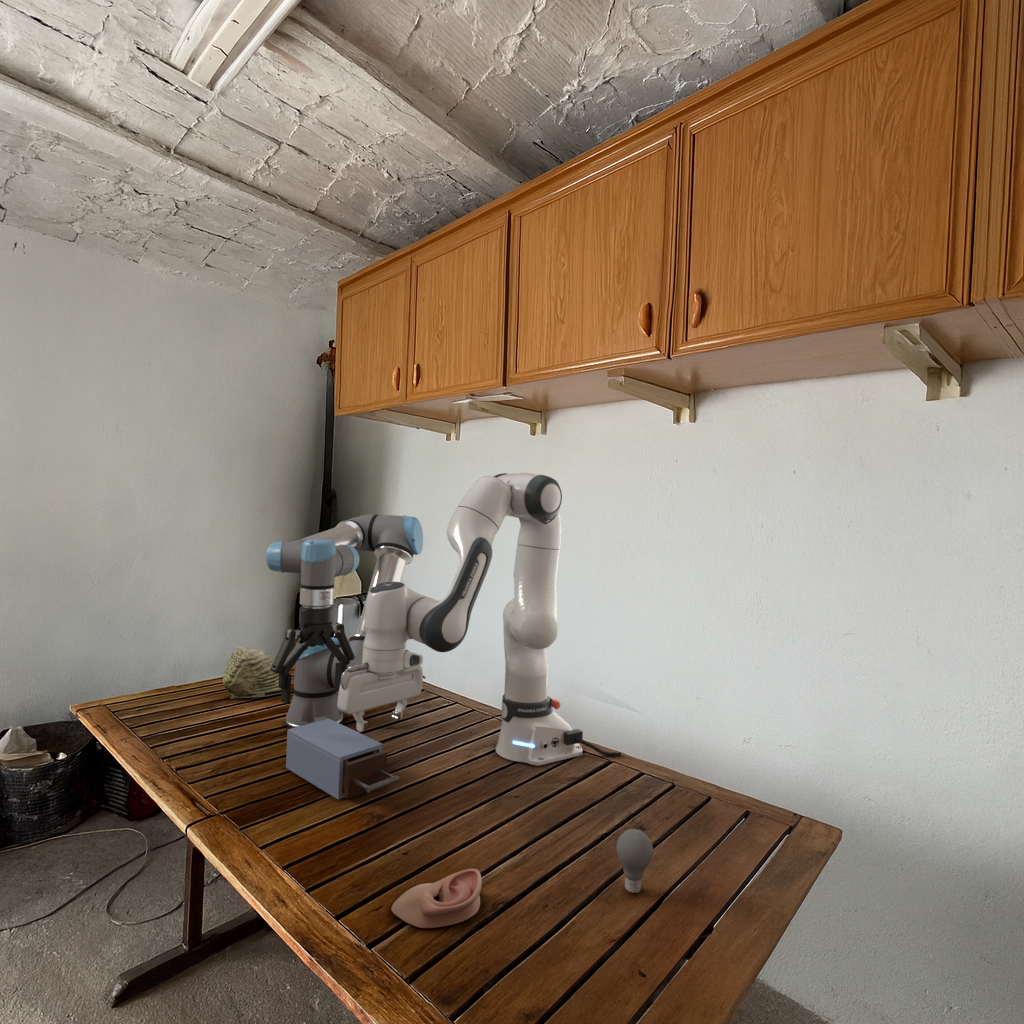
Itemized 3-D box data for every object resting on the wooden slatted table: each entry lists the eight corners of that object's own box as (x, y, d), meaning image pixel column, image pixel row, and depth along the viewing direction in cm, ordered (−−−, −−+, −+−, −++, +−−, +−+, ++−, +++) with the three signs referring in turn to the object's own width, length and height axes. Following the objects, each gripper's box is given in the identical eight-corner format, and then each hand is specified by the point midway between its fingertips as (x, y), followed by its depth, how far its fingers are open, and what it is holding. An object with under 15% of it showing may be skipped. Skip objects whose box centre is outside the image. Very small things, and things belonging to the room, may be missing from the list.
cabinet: (381, 783, 141) (382, 743, 141) (338, 799, 133) (339, 757, 133) (327, 754, 155) (329, 718, 155) (285, 767, 147) (287, 729, 147)
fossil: (218, 695, 195) (220, 647, 195) (278, 685, 208) (279, 640, 207) (228, 703, 189) (230, 653, 188) (289, 692, 201) (290, 645, 201)
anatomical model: (384, 895, 95) (411, 854, 106) (383, 921, 95) (410, 877, 106) (469, 910, 92) (488, 866, 104) (468, 937, 93) (487, 890, 104)
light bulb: (610, 879, 108) (613, 822, 108) (644, 879, 109) (647, 822, 109) (619, 902, 102) (622, 840, 102) (655, 901, 103) (658, 840, 103)
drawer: (402, 793, 135) (404, 760, 135) (364, 808, 128) (366, 773, 128) (334, 756, 152) (335, 727, 152) (296, 768, 145) (297, 737, 145)
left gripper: (272, 613, 136) (269, 712, 136) (371, 603, 154) (367, 689, 155) (257, 608, 141) (253, 703, 141) (354, 599, 159) (350, 682, 160)
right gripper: (352, 671, 123) (348, 741, 124) (428, 655, 139) (425, 717, 139) (332, 664, 127) (329, 732, 127) (409, 649, 143) (405, 710, 143)
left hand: (313, 696), depth 148 cm, fingers open, 13 cm apart
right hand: (379, 724), depth 134 cm, fingers open, 8 cm apart
